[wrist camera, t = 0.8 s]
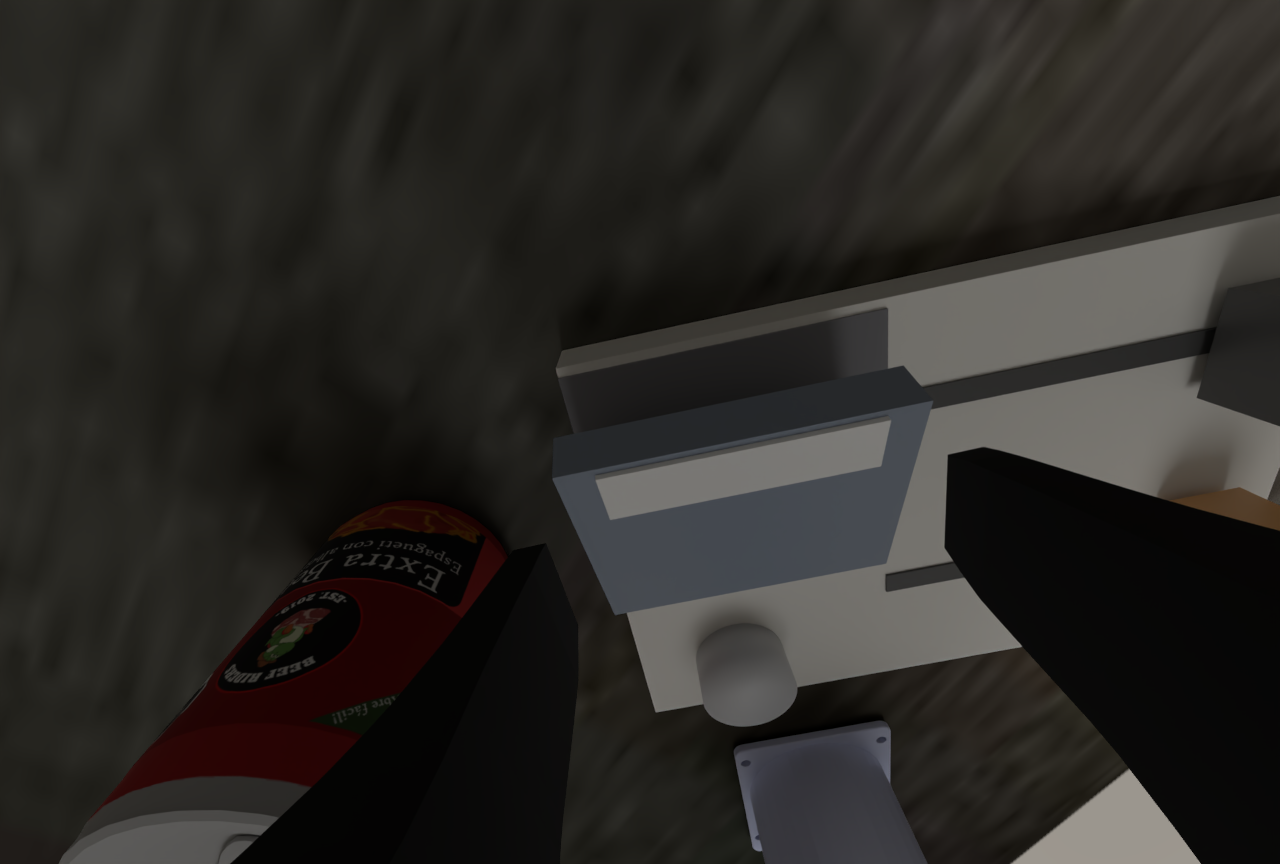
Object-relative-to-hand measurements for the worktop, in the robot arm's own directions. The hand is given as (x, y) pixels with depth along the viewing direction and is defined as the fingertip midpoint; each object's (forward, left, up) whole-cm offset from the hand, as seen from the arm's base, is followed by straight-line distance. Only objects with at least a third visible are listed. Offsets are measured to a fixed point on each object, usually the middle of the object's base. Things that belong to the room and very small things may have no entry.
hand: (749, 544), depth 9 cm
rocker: (-3, -1, -5) cm, 6 cm away
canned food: (-6, +12, -10) cm, 17 cm away
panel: (-6, -8, -9) cm, 14 cm away
